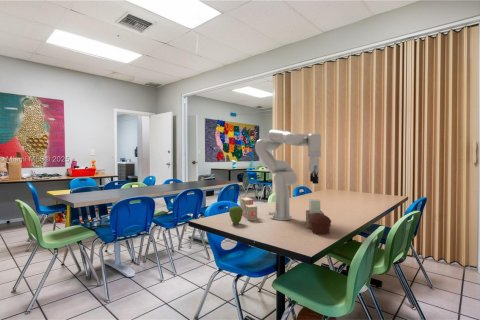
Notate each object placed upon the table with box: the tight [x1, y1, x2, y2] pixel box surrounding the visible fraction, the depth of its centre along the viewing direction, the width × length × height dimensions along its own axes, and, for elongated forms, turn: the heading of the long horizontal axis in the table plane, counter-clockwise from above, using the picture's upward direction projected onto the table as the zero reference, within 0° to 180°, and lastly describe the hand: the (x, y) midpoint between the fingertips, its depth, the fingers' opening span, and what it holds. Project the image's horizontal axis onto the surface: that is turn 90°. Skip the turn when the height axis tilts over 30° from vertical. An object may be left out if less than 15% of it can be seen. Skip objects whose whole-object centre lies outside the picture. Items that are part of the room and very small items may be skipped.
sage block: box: [308, 199, 321, 213], centre depth 162 cm, size 6×6×7 cm
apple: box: [228, 205, 243, 225], centre depth 171 cm, size 9×8×12 cm
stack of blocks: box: [239, 196, 258, 221], centre depth 189 cm, size 21×6×12 cm, turn 14°
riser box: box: [305, 209, 325, 230], centre depth 162 cm, size 9×9×9 cm
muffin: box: [310, 214, 333, 236], centre depth 150 cm, size 12×11×10 cm
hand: (314, 182), depth 163 cm, fingers open, 9 cm apart
